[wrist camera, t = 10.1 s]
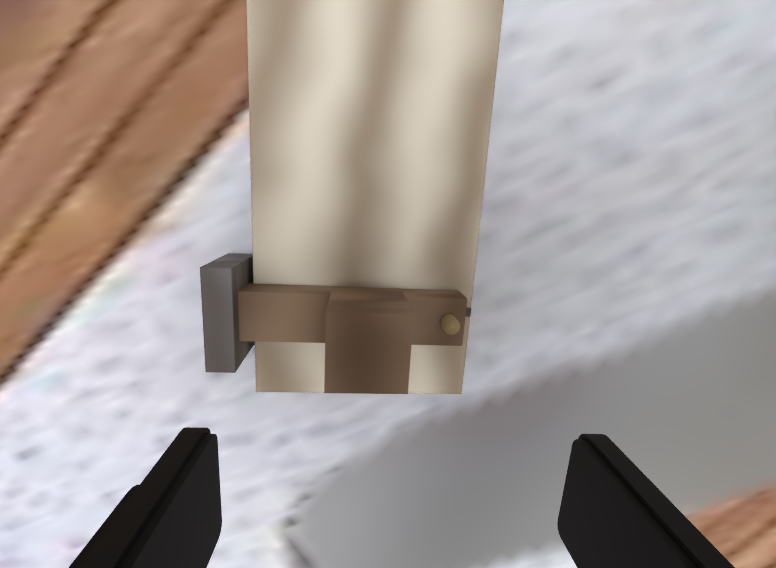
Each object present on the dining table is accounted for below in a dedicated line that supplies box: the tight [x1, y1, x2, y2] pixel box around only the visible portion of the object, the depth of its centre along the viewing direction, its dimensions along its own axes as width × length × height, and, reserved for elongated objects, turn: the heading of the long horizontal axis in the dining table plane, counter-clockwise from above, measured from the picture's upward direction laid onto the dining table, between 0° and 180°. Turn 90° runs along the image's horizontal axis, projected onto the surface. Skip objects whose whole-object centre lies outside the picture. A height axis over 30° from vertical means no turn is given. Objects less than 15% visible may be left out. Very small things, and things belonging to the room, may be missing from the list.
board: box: [247, 0, 504, 394], centre depth 25 cm, size 14×26×2 cm, turn 177°
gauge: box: [200, 253, 467, 394], centre depth 22 cm, size 15×6×9 cm, turn 87°
